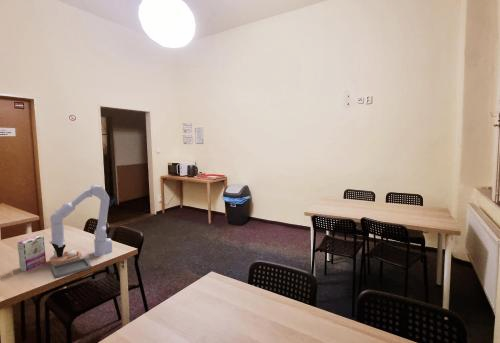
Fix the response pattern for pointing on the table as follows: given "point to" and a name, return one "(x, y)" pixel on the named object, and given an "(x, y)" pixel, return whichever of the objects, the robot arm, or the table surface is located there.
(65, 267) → the parts tray
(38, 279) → the table surface
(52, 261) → the bowl
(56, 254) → the white rounded piece
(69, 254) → the white rounded piece
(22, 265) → the candy bar box
